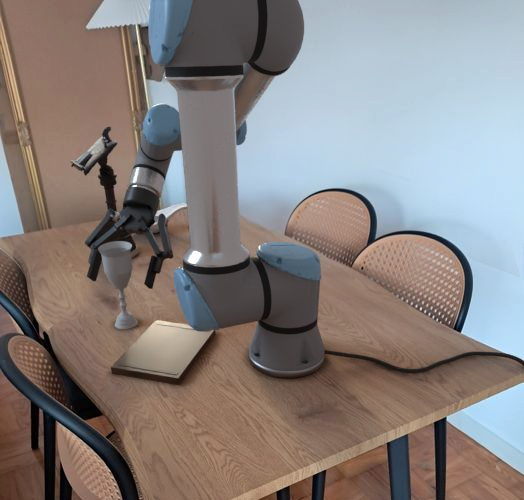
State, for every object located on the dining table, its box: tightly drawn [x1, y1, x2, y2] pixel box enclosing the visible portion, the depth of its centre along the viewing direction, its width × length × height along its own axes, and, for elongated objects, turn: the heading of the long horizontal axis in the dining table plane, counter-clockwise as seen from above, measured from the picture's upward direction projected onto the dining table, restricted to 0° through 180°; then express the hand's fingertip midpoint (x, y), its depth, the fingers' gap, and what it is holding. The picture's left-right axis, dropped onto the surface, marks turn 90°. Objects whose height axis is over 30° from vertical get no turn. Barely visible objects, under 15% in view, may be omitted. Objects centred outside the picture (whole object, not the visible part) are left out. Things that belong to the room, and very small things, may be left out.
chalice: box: [98, 241, 138, 330], centre depth 119 cm, size 7×7×18 cm
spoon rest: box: [150, 203, 187, 234], centre depth 178 cm, size 24×12×7 cm, turn 113°
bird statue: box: [69, 126, 140, 259], centre depth 150 cm, size 17×13×35 cm
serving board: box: [110, 319, 217, 386], centre depth 113 cm, size 14×20×2 cm
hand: (119, 282), depth 118 cm, fingers open, 13 cm apart
